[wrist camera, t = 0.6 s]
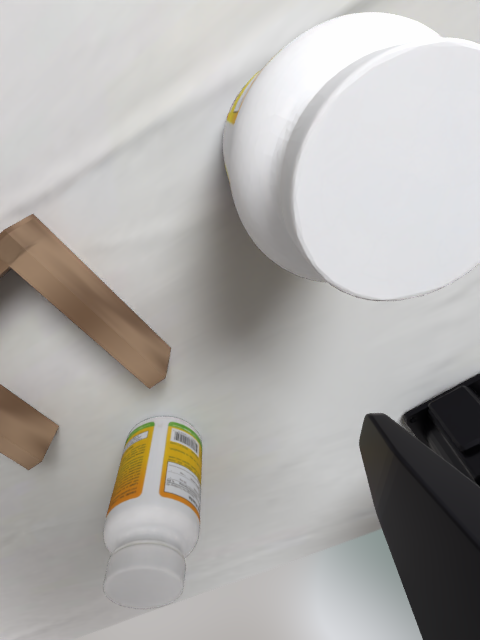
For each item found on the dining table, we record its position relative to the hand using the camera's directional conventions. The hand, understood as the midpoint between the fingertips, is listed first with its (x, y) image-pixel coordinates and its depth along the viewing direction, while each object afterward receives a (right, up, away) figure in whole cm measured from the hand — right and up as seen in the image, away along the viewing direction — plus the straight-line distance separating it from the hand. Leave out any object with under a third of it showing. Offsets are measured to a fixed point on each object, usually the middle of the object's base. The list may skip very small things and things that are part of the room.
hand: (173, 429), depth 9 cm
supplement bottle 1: (-4, -6, +19) cm, 20 cm away
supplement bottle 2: (+4, +11, +10) cm, 15 cm away
